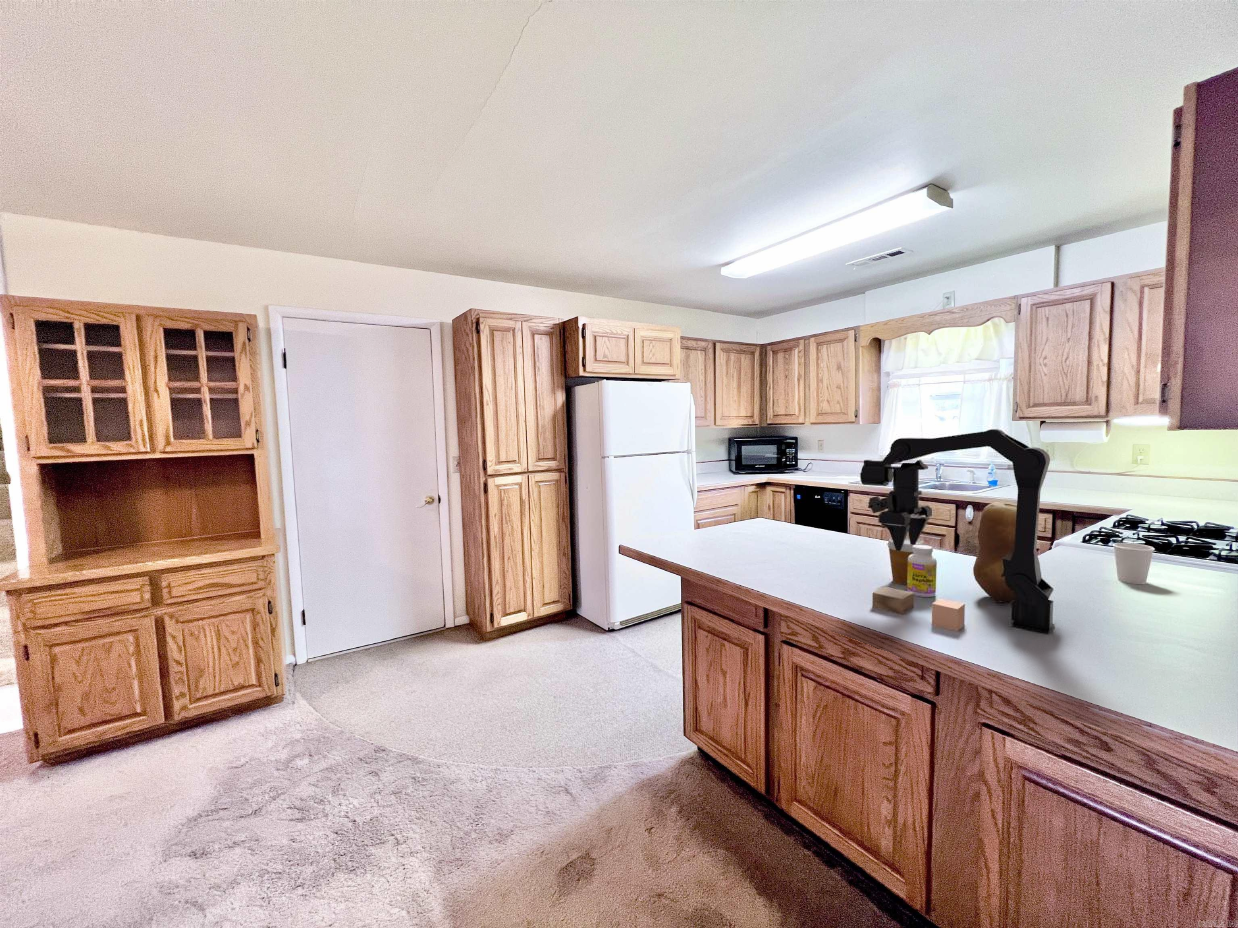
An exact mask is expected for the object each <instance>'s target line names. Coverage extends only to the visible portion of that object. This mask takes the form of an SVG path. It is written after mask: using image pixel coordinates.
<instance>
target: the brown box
mask: <svg viewBox="0 0 1238 928" xmlns="http://www.w3.org/2000/svg"><path fill="white" fill-rule="evenodd" d="M914 596H915V595H914V593H912V592H908V591H906V590H902V589H899V588H893V587H888V586H883V587H881V588H878V589H877V590H875V591H873V592H872V600H871V602H872V604H871V605H872V608H873V609H879V610H881V611H886V612H890V613H894V614H899V615H904V614H905V613H907V612H909V611H910V610H912V609H914V602H915V597H914Z"/></svg>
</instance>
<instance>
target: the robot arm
mask: <svg viewBox="0 0 1238 928" xmlns="http://www.w3.org/2000/svg"><path fill="white" fill-rule="evenodd" d="M986 447H990V448H991V449H993V451H995V452H996V453H998V454H1000V455H1001V456H1002V457H1003V458H1005V459H1007V460H1008V461H1010V462H1011V463H1012V467H1013V474H1014V480H1015V483H1016V486H1017V497H1016V498H1017V500H1016V501H1017V502H1016V504H1017V511H1016V526H1015V541H1014V551H1013V554H1012V555H1009V554H1008V555H1007V556H1006V557H1005V558H1004V559H1003V568H1004V570H1003V574H1002V575H1001V577H1005V583H1006V585H1007V586H1008V587H1009V588H1010V589H1011V590H1012V591H1014V593H1015V596H1016V597H1015V601H1013V602H1012V603H1011V604H1010V605H1011V609H1010V610H1011V611H1010V620H1011V626H1012V627H1016V628H1021V629H1025V630H1029V631H1034V632H1038V633H1044V634H1048V635H1049V634H1050V633H1051V632H1052V631H1053V629H1054V628H1055V623H1054V621H1053V619H1054V600H1050V597H1051V595H1052V594H1053V591H1054V588H1053V587H1052V586H1051V585H1050V584H1049V583H1048V582H1047V581H1046V580H1045V579H1044V578H1043V577H1042V569H1041V564H1040V563H1041V562H1040V559H1039V556H1038V552H1037V546H1038V531H1039V530H1038V529H1039V517H1040V515H1039V514H1040V504H1041V503H1040V502H1041V501H1040V500H1041V490H1042V487H1043V484H1044V481H1045V479H1046V476H1047V472H1048V470H1049V466H1050V463H1051V457H1050V455H1049V453H1048V452H1047V451H1046V450H1044V449H1043V448H1040V447H1035V446H1033V447H1032V446H1028V445H1027V444H1025V443H1024V442H1022V441H1020V440H1017V438H1014V437H1012V436H1011V435H1008V434H1007V433H1005V432H1004V431H1003V430H1002V429H999V428H992V429H987V430H985V431H977V432H971V433H963V434H955V435H948V436H941V437H901V438H897V439H895V440H894V441H893V442H892V443H891V445H890V448H889V449H890V451H889V452H888V453H887V454H886V456H885V457H884V458H883V460H873V459H864V460H863V465H862V467H861V471H860V473H859V477H860V483H861V484H862V485H863V486H878V487H887V486H888V485H889V484H890V483H892V486H893V487H892V489H893V490H890V491H889V492H888V496H886V497H882V498H880V497H879V496H878V495H876V496H872V497H870V498H869V499H868V502H867V504H868V505H867V508H869V510H871V512H872V513H873V514H876V513H879V514H877V523H879V524H881V526H884V527H885V529H887V530H888V532H889V535H890V537H891V539H892V540H893V543H894V546H895V549H896V550H897V551H901V549H902V547H903V544H904V541H905V538H907V535H908V537H909V539H910V544H911V545H915V544H916V542H917V540H920V539H919V538H920V536H921V534H922V532H923V531H924V529H925V528H926V526H927V524H928V522H929V521H930V519H931V517H932V516H933V508H932V507H930V506H929V505H928V504H927V505H926V504H920V503H919V501H920V500H919V499H920V498H919V497H920V496H921V495H922V494H923V493H922V490H920V489H919V488H920V485H919V482H920V481H919V480H920V479H919V478H920V477H919V476H920V475H919V474H920V471H924V470H928V469H929V466H928V465H927V464H925V463H924V461H922V459H919V458H923V457H926V456H929V455H932V454H937V453H945V452H952V451H953V452H954V451H962V450H969V449H978V448H986ZM914 459H915V460H916V459H918V460H916V462H905V461H911V460H914ZM902 462H903V463H902ZM900 463H901V465H900V466H896V464H900ZM892 465H894V466H892Z"/></svg>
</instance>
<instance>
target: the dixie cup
mask: <svg viewBox="0 0 1238 928" xmlns="http://www.w3.org/2000/svg"><path fill="white" fill-rule="evenodd" d="M1112 546H1113V550H1114V560H1115V567H1116V575H1117V580H1118V581H1120V582H1122V583H1123V582H1124V583H1128V584H1136V585H1145V584H1146V583H1147V579H1148V576H1149V571H1150V567H1151V562H1152V558H1153V553H1154V551H1155V549H1156V548H1154V547H1153V546H1150V545H1145V544H1139V543H1132V542H1131V543H1129V542H1115V543H1113V544H1112Z"/></svg>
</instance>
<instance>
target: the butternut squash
mask: <svg viewBox="0 0 1238 928" xmlns="http://www.w3.org/2000/svg"><path fill="white" fill-rule="evenodd" d="M1016 511H1017V503H1015V504H1014V503H1010V502H1009V503H1007V502H1001V501H997V502H996V501H994V502H992V503H991V502H990V503H989V504H987V505H986V506H985V507H984V508H983V510H982V511H981V515H980V518H979V526H978V530H977V539H978V552H977V555H976V558H975V561H974V565H973V568H972V571H973V576H974V579H975V582H976V583H977V585H978V586H979V587H980V588H981V589H982V590H983V592H985V594H986V595H987V596H988V597H989V598H990V599H991V600H993V601H994V602H996V603H1005V602H1008V603H1009V602H1012V603H1013V602H1014V601H1015V597H1016V596H1015V593H1014V591H1012V590H1011V589H1010V588H1009V587H1008V586H1007V585H1006V583H1005V577H1001V575H1002V574H1003V570H1004V568H1003V559H1004V558H1005V557H1006V556H1007V555H1008V554H1009V555H1012V554H1013V551H1014V541H1015V526H1016Z"/></svg>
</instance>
